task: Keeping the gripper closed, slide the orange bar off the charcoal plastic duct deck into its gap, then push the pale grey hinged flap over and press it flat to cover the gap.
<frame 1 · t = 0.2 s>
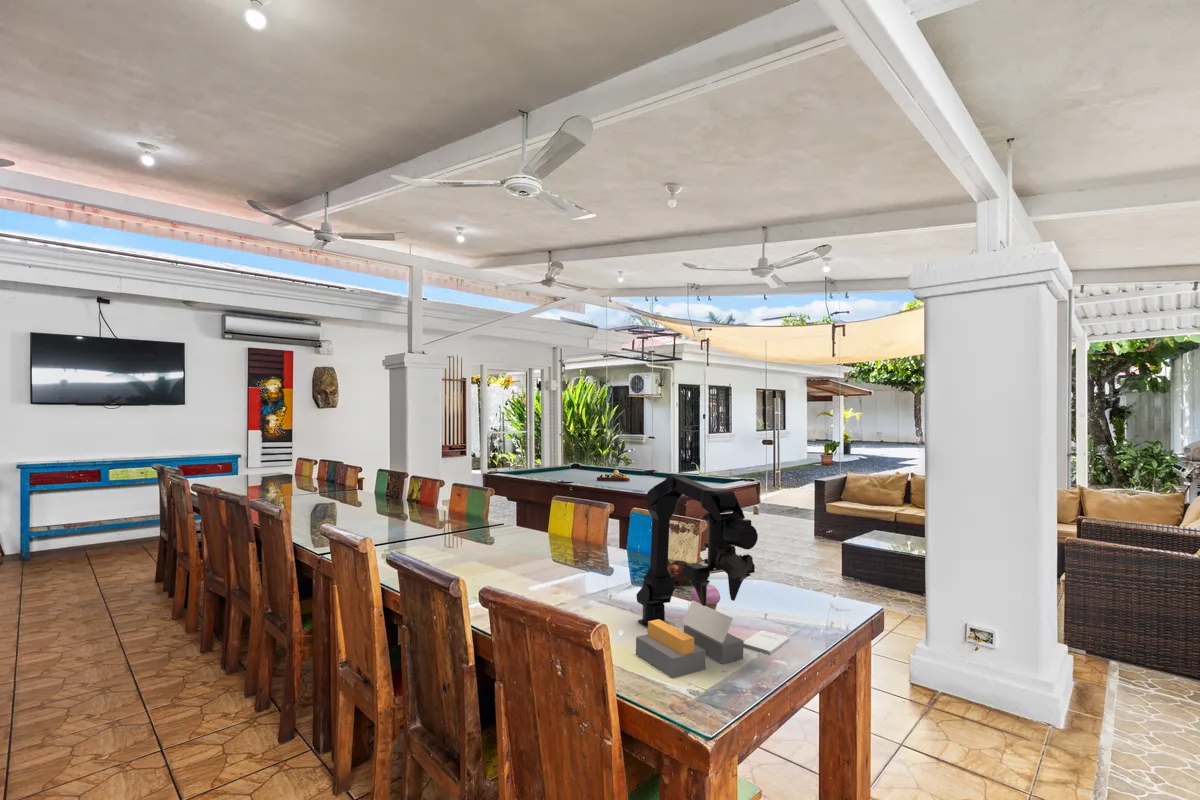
hand: (718, 602, 153), 15 cm above the table, tool pointing down, fingers open, 9 cm apart
duct: (690, 656, 155), on the table
cupcake: (705, 617, 183), on the table
decorative turtle: (679, 583, 218), on the table
external hard drive: (765, 646, 164), on the table
orange bar: (670, 643, 152), point 4 cm above the table, touching duct
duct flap: (706, 620, 158), point 8 cm above the table, hinge at 120.0°
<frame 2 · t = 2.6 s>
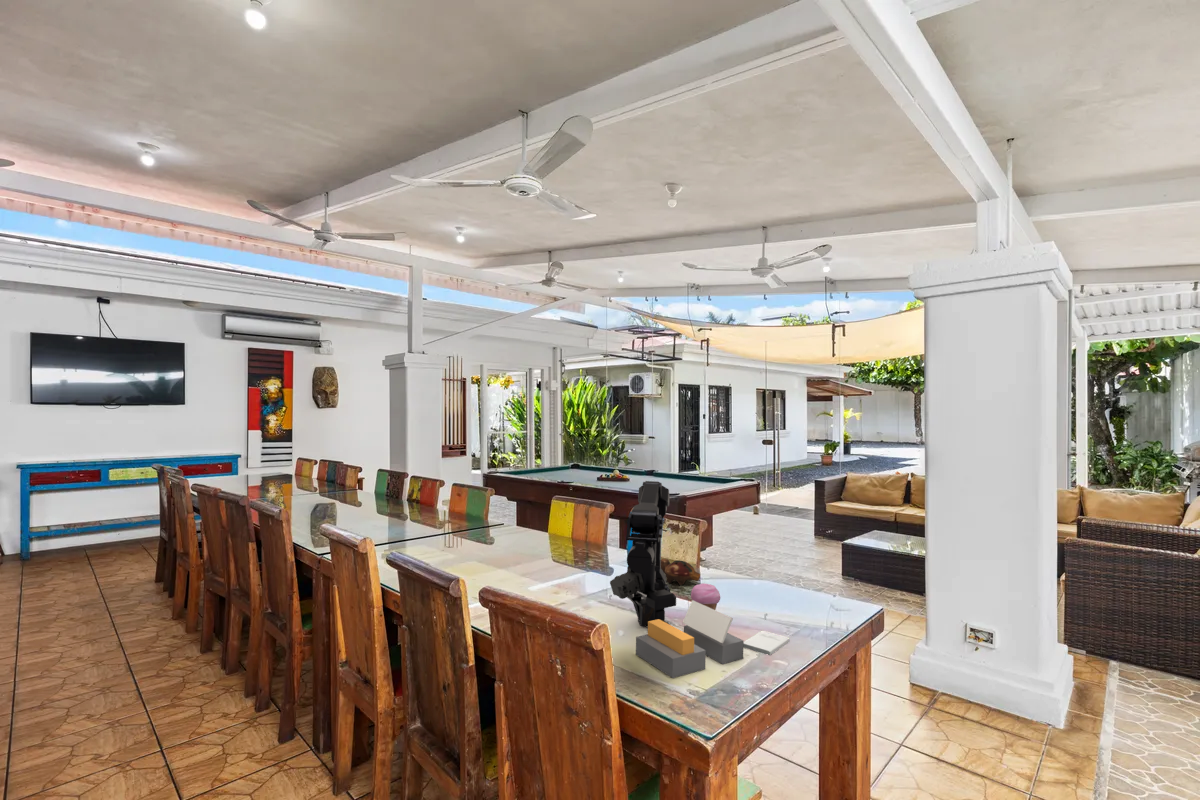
hand: (642, 626, 147), 10 cm above the table, tool pointing down, fingers closed
nothing on the table moved.
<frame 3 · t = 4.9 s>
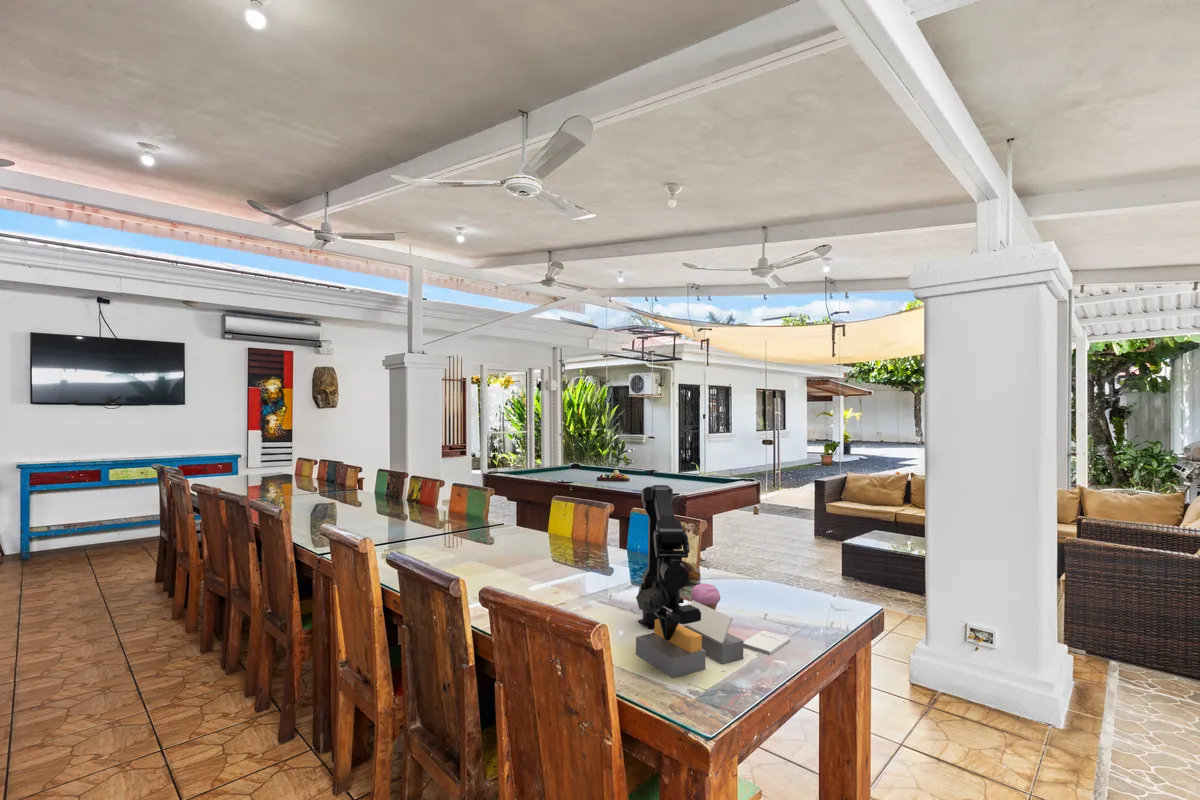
hand: (667, 640, 151), 5 cm above the table, tool pointing down, fingers closed, pressing on orange bar
orange bar: (677, 641, 153), point 5 cm above the table, touching duct, gripper
everything else where it was.
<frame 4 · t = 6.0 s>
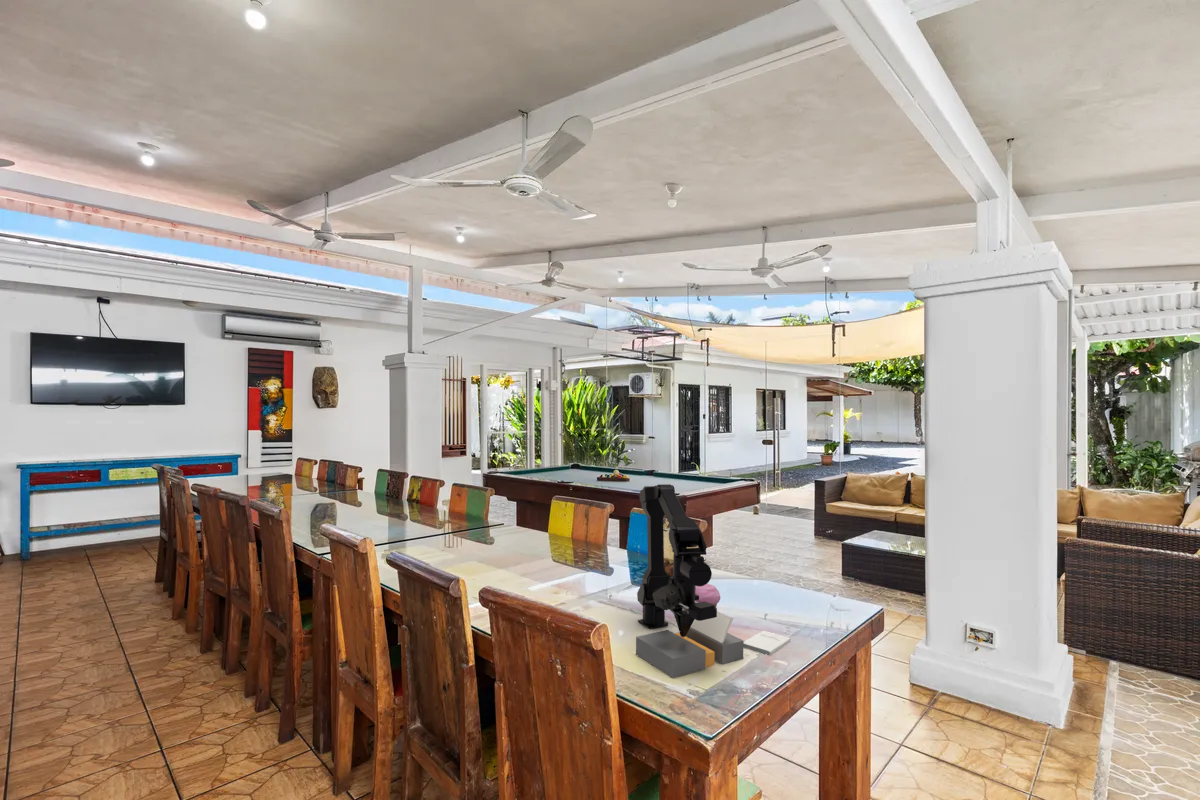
hand: (683, 636, 154), 5 cm above the table, tool pointing down, fingers closed
orange bar: (685, 651, 155), point 1 cm above the table, tilted 90°
everything else where it was.
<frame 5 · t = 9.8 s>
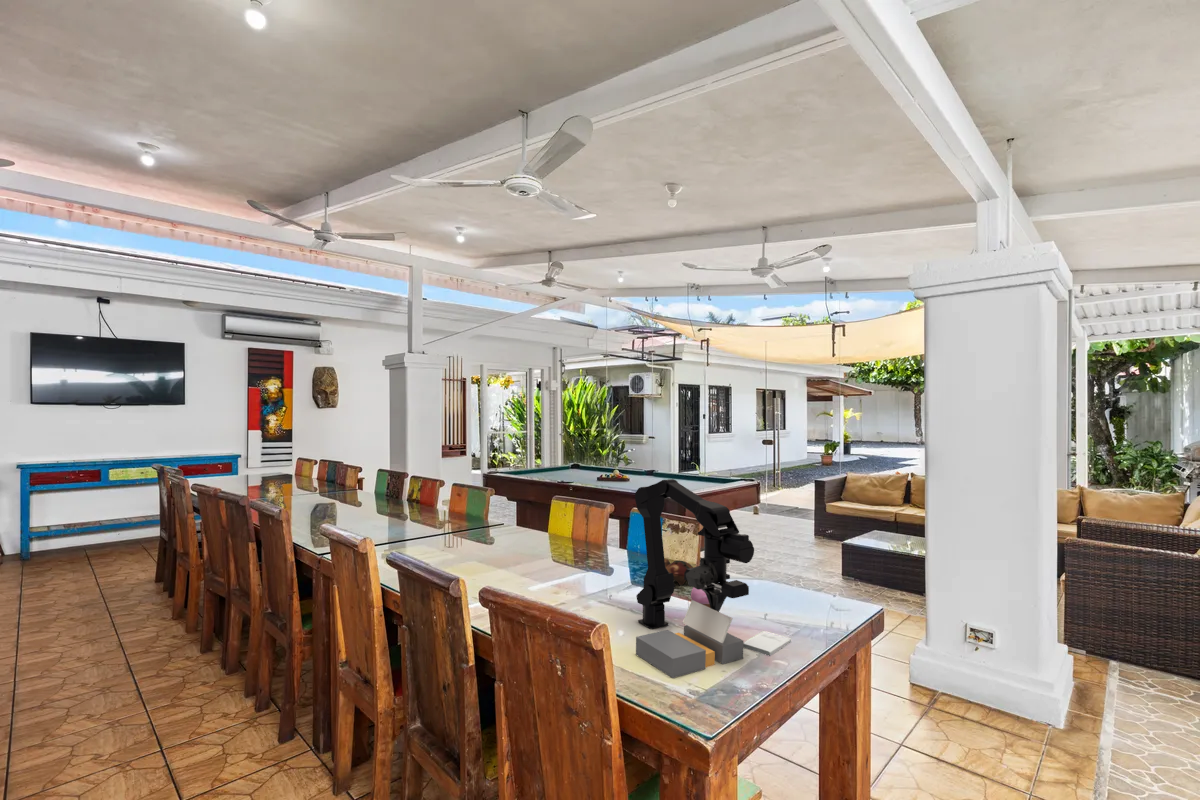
hand: (715, 614, 159), 9 cm above the table, tool pointing down, fingers closed, pressing on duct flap
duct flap: (706, 620, 158), point 8 cm above the table, hinge at 118.8°, touching gripper
everything else where it was.
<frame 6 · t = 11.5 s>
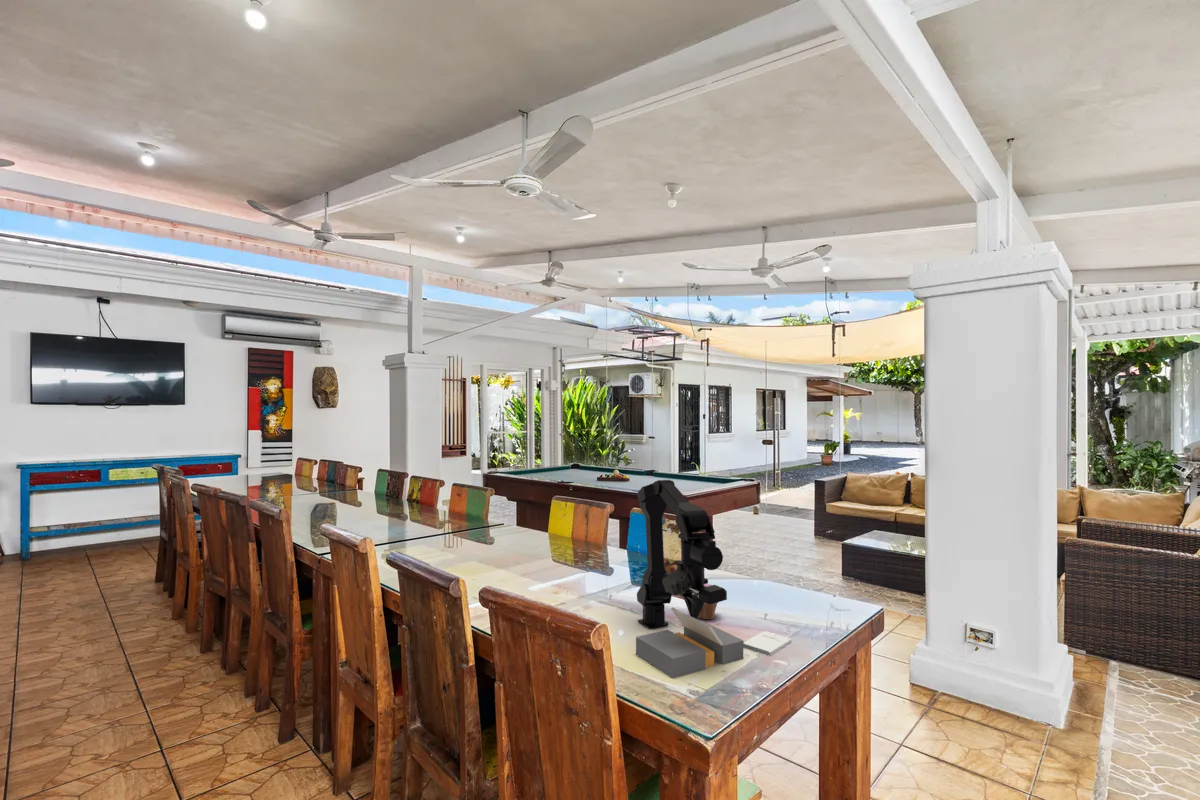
hand: (694, 619, 156), 9 cm above the table, tool pointing down, fingers closed, pressing on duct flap
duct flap: (695, 625, 156), point 7 cm above the table, hinge at 51.2°, touching gripper
everything else where it was.
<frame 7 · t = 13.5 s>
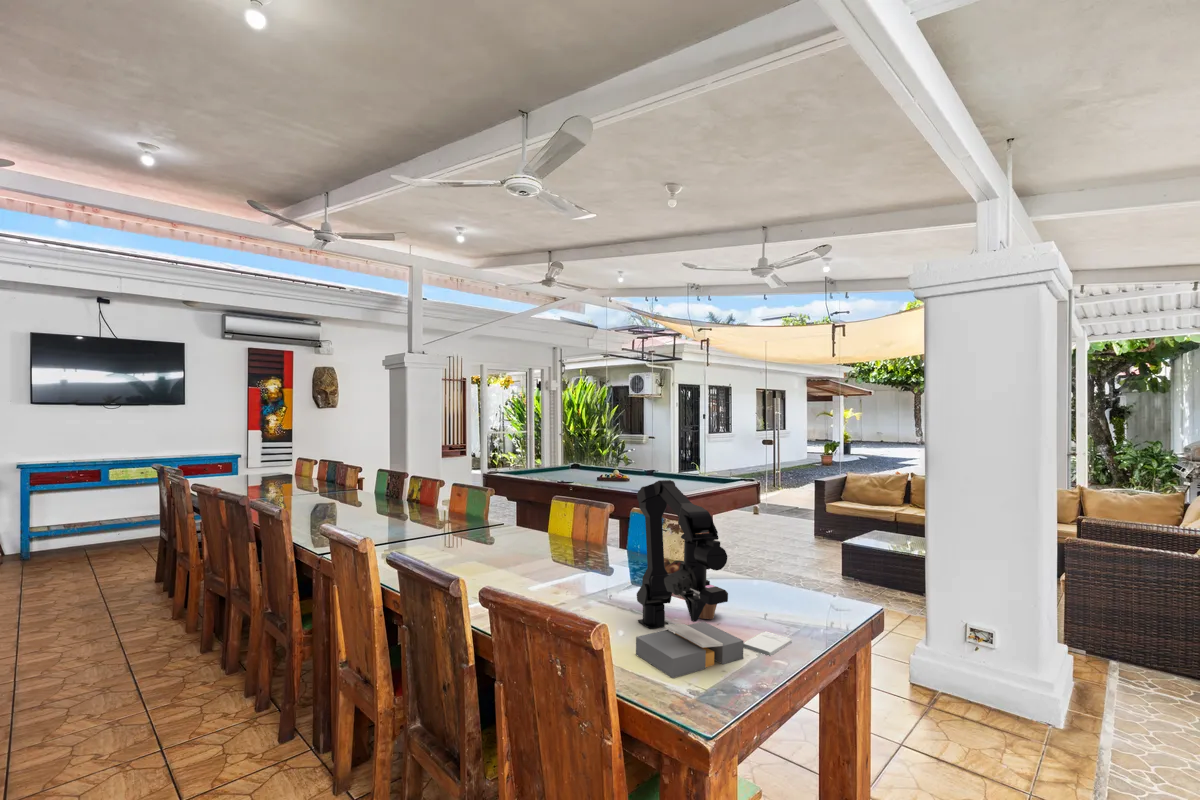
hand: (694, 621, 155), 9 cm above the table, tool pointing down, fingers closed
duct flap: (692, 635, 156), point 5 cm above the table, hinge at 7.6°
everything else where it was.
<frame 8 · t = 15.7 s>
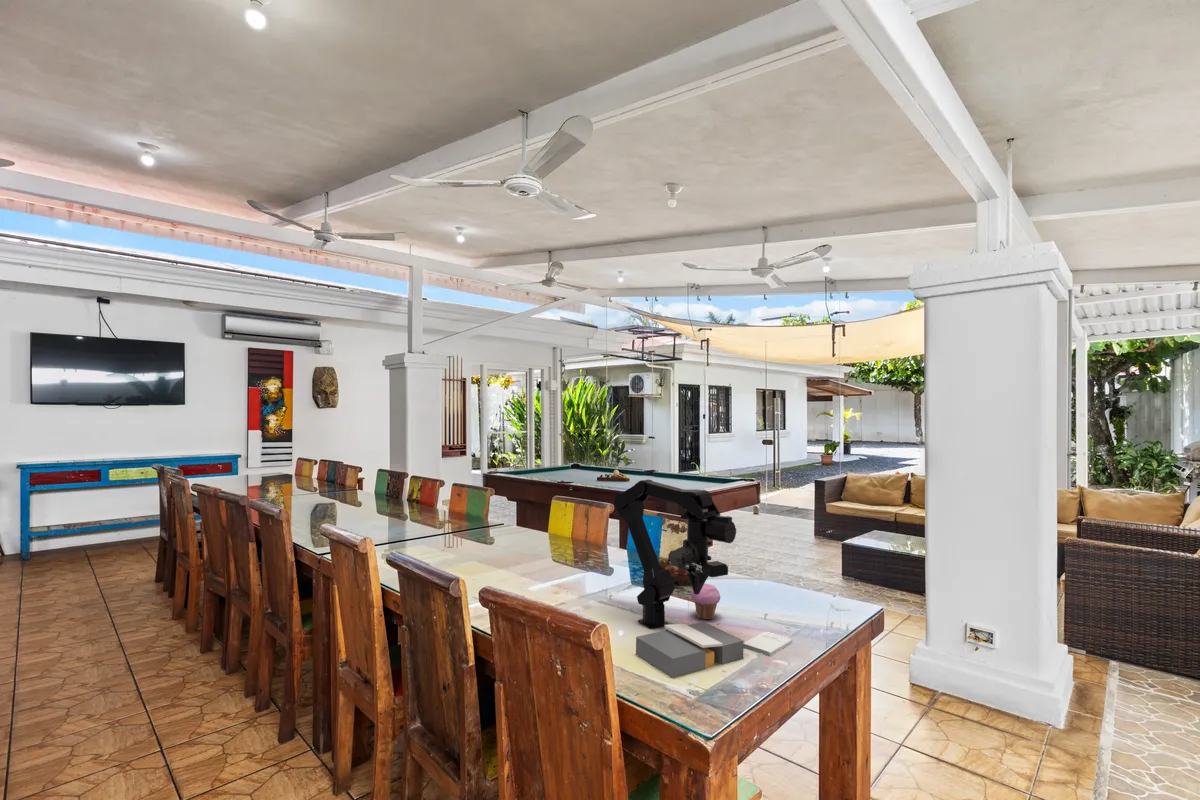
hand: (696, 594, 167), 12 cm above the table, tool pointing down, fingers closed
nothing on the table moved.
at the end: orange bar inside the target area (2.6 cm from its centre), point 1.4 cm above the table; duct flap at +7° (first picture: +120°) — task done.
